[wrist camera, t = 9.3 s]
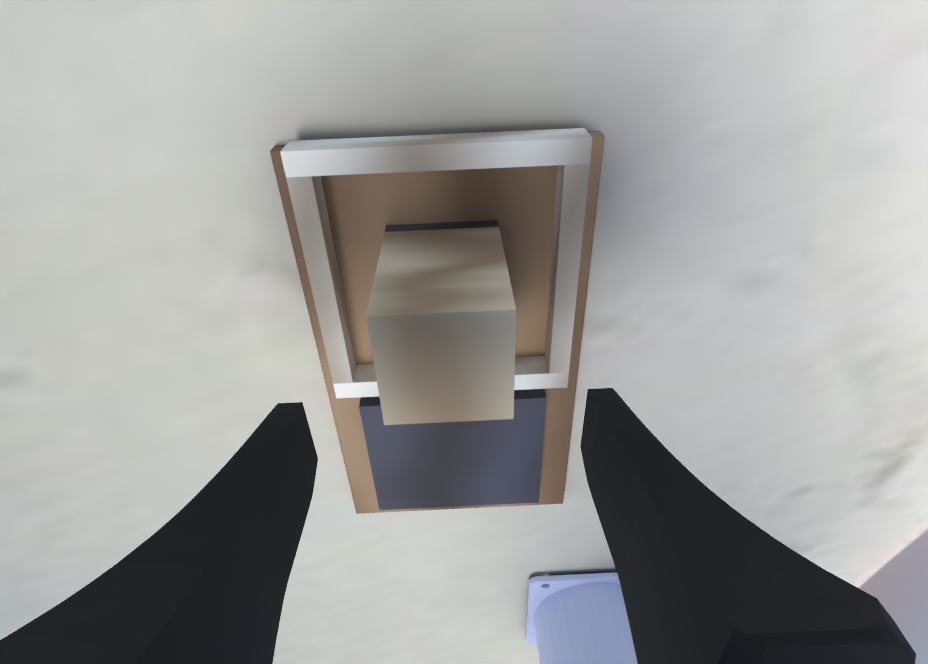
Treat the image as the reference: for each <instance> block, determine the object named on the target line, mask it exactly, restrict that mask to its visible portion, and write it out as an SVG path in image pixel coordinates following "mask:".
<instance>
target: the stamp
mask: <svg viewBox="0 0 928 664" xmlns="http://www.w3.org/2000/svg"><path fill="white" fill-rule="evenodd" d="M366 320H367V326H368V332H369V338H370V344H371V350H372V356H373V362H374V368H375V374H376V380H377V386H378V392H379V398H380V404H381V410H382V416H383V422H384V425H398V424H419V423H440V422H461V421H482V420H503V419H514V381H515V342H516V306H515V301H514V296H513V292H512V287H511V282H510V277H509V272H508V268H507V263H506V258H505V253H504V249H503V244H502V239H501V234H500V230H499V225H498V220H488V221H466V222H444V223H422V224H399V225H386V227H385V232H384V236H383V241H382V246H381V250H380V255H379V259H378V264H377V269H376V273H375V278H374V282H373V287H372V291H371V296H370V301H369V305H368V310H367V314H366Z"/></svg>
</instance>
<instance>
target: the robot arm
mask: <svg viewBox="0 0 928 664" xmlns="http://www.w3.org/2000/svg"><path fill="white" fill-rule="evenodd" d="M581 451H582V456H583V462H584V467H585V472H586V476H587V481H588V485H589V488H590V491H591V494H592V497H593V501H594V504H595V507H596V510H597V513H598V516H599V519H600V522H601V525H602V528H603V531H604V534H605V537H606V540H607V543H608V546H609V549H610V552H611V555H612V558H613V561H614V564H615V567H616V571H617V572H613V573H593V574H573V575H552V576H536V577H532V578H531V579H530V580H529V585H528V601H527V617H526V633H525V639H526V643H527V644H530V645H538V652H539V659H540V664H915V659H916V658H915V657H916V653H915V652H914V650H913V649H912V648H911V646H910V645H909V643H908V642H907V640H906V639H905V637H904V635H903V634H902V633H901V631H900V629H899V628H898V626H897V625H896V623H895V622H894V620H893V619H892V618H891V616H890V615H889V614H888V612H887V611H886V610H885V609H884V607H883V606H882V605H881V603H880V602H879V601H878V599H877V598H875V597H873V596H871V595H869V594H867V593H866V592H864V591H862V590H860V589H859V588H857V587H855V586H853V585H851V584H849V583H848V582H846V581H844V580H842V579H840V578H839V577H837V576H835V575H833V574H831V573H829V572H828V571H826V570H824V569H822V568H821V567H819V566H817V565H816V564H814V563H812V562H811V561H809V560H808V559H806V558H804V557H803V556H801V555H800V554H798V553H796V552H795V551H793V550H791V549H790V548H788V547H787V546H785V545H784V544H782V543H781V542H779V541H778V540H776V539H775V538H773V537H772V536H770V535H769V534H768V533H766V532H765V531H763V530H762V529H760V528H759V527H758V526H756V525H755V524H753V523H752V522H751V521H749V520H748V519H746V518H745V517H744V516H742V515H741V514H740V513H738V512H737V511H736V510H734V509H733V508H732V507H730V506H729V505H728V504H727V503H725V502H724V501H723V500H722V499H721V498H719V497H718V496H717V495H716V494H714V493H713V492H712V491H711V490H710V489H708V488H707V487H706V486H705V485H704V484H703V483H702V482H701V481H699V480H698V479H697V478H696V477H695V476H694V475H693V474H692V473H691V472H690V471H689V470H688V469H687V468H685V467H684V466H683V465H682V464H681V463H680V462H679V461H678V460H677V459H676V458H675V457H674V456H673V455H672V454H671V453H670V452H669V451H668V450H667V449H666V448H665V447H664V446H663V444H662V443H661V442H660V441H659V440H658V439H657V438H656V437H655V436H654V435H653V434H652V433H651V432H650V431H649V430H648V428H647V427H646V426H645V425H644V424H643V423H642V422H641V421H640V419H639V418H638V417H637V416H636V415H635V414H634V413H633V411H632V410H631V409H630V408H629V407H628V406H627V404H626V403H625V402H624V401H623V400H622V398H621V397H620V396H619V395H618V394H617V392H616V391H615V390H614V389H612V388H604V389H588V392H587V400H586V408H585V416H584V424H583V431H582V439H581ZM317 461H318V458H317V454H316V450H315V447H314V443H313V439H312V436H311V432H310V429H309V425H308V421H307V418H306V414H305V411H304V407H303V403H302V402H300V403H279V404H277V405H276V406H275V407H274V409H273V410H272V411H271V412H270V413H269V414H268V416H267V417H266V418H265V419H264V420H263V422H262V423H261V424H260V425H259V426H258V428H257V429H256V430H255V431H254V432H253V434H252V435H251V436H250V437H249V438H248V440H247V441H246V442H245V443H244V444H243V445H242V447H241V448H240V449H239V450H238V451H237V452H236V453H235V454H234V456H233V457H232V458H231V459H230V460H229V461H228V462H227V464H226V465H225V466H224V467H223V468H222V469H221V470H220V471H219V472H218V473H217V475H216V476H215V477H214V478H213V479H212V480H211V481H210V482H209V483H208V484H207V485H206V486H205V487H204V488H203V489H202V490H201V491H200V492H199V493H198V494H197V495H196V496H195V497H194V498H193V499H192V500H191V501H190V502H189V503H188V504H187V505H186V506H185V507H184V508H183V509H182V510H181V511H180V512H179V513H178V514H176V515H175V516H174V517H173V518H172V519H171V520H170V521H169V522H167V523H166V524H165V525H164V526H163V527H162V528H161V529H160V530H158V531H157V532H156V533H155V534H154V535H152V536H151V537H150V538H149V539H147V540H146V541H145V542H144V543H142V544H141V545H140V546H139V547H137V548H136V549H135V550H134V551H132V552H131V553H130V554H128V555H127V556H126V557H125V558H123V559H122V560H121V561H120V562H118V563H117V564H116V565H114V566H113V567H112V568H110V569H109V570H108V571H106V572H105V573H103V574H102V575H101V576H99V577H98V578H97V579H95V580H94V581H92V582H91V583H90V584H88V585H87V586H85V587H84V588H82V589H81V590H79V591H78V592H76V593H75V594H73V595H72V596H71V597H69V598H68V599H66V600H64V601H63V602H61V603H60V604H58V605H57V606H55V607H54V608H52V609H51V610H49V611H47V612H46V613H44V614H42V615H41V616H39V617H38V618H36V619H34V620H33V621H31V622H30V623H28V624H26V625H25V626H23V627H21V628H20V629H18V630H17V631H15V632H13V633H12V634H10V635H8V636H7V637H5V638H3V639H2V640H0V664H272V662H273V656H274V650H275V644H276V638H277V632H278V627H279V621H280V616H281V610H282V605H283V600H284V595H285V591H286V587H287V583H288V579H289V575H290V572H291V569H292V565H293V562H294V558H295V555H296V551H297V548H298V544H299V541H300V537H301V534H302V531H303V527H304V524H305V520H306V516H307V513H308V509H309V506H310V502H311V498H312V494H313V488H314V482H315V475H316V468H317Z"/></svg>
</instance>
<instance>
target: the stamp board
mask: <svg viewBox="0 0 928 664" xmlns="http://www.w3.org/2000/svg"><path fill="white" fill-rule="evenodd" d="M603 144H604V135H603V134H602V133H601V132H587V131H586V130H585V128H570V129H548V130H525V131H502V132H480V133H457V134H434V135H411V136H389V137H366V138H343V139H320V140H298V141H289V142H288V143H287V144H286V145H285V146H274V147H273V148H272V150H271V151H270V153H271V157H272V161H273V166H274V170H275V174H276V178H277V182H278V187H279V191H280V195H281V199H282V203H283V208H284V212H285V216H286V220H287V224H288V228H289V233H290V237H291V241H292V245H293V249H294V254H295V258H296V262H297V266H298V270H299V274H300V279H301V283H302V287H303V291H304V295H305V300H306V304H307V308H308V312H309V316H310V320H311V325H312V329H313V333H314V337H315V341H316V346H317V350H318V354H319V358H320V362H321V367H322V371H323V375H324V379H325V383H326V387H327V392H328V396H329V400H330V404H331V408H332V413H333V417H334V421H335V425H336V429H337V433H338V438H339V442H340V446H341V450H342V454H343V459H344V463H345V467H346V471H347V475H348V479H349V484H350V488H351V492H352V496H353V500H354V505H355V509H356V513H376V512H397V511H417V510H438V509H458V508H479V507H500V506H520V505H541V504H561V503H563V499H564V490H565V481H566V472H567V463H568V454H569V445H570V437H571V428H572V419H573V410H574V401H575V392H576V383H577V375H578V366H579V357H580V348H581V339H582V330H583V321H584V313H585V304H586V295H587V286H588V277H589V268H590V259H591V251H592V242H593V233H594V224H595V215H596V206H597V197H598V189H599V180H600V171H601V162H602V153H603ZM488 220H498V225H499V230H500V234H501V239H502V244H503V249H504V253H505V258H506V263H507V268H508V272H509V277H510V282H511V287H512V292H513V296H514V301H515V306H516V342H515V381H514V419H503V420H482V421H461V422H440V423H419V424H398V425H384V422H383V416H382V410H381V404H380V398H379V392H378V386H377V380H376V374H375V368H374V362H373V356H372V350H371V344H370V338H369V332H368V326H367V320H366V314H367V310H368V305H369V301H370V296H371V291H372V287H373V282H374V278H375V273H376V269H377V264H378V259H379V255H380V250H381V246H382V241H383V236H384V232H385V227H386V225H399V224H422V223H444V222H466V221H488Z"/></svg>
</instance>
